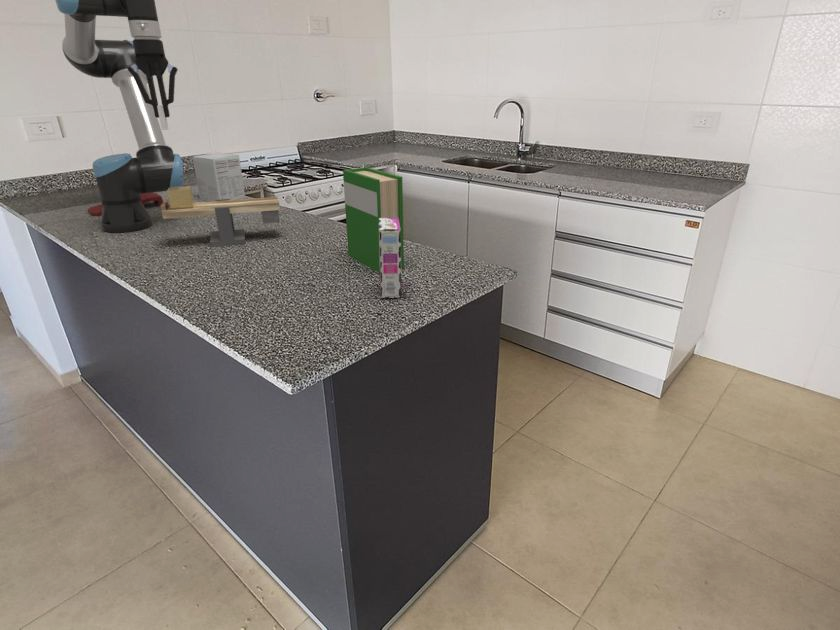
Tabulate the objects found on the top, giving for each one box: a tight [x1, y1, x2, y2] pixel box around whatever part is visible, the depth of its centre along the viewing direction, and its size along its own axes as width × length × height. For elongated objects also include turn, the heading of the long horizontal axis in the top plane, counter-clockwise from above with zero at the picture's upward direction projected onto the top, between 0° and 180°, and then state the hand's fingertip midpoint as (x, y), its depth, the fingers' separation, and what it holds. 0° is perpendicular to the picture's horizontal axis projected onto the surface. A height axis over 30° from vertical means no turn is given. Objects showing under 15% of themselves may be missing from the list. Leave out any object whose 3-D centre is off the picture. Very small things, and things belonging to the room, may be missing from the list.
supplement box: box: [191, 152, 246, 202], centre depth 213 cm, size 13×13×18 cm
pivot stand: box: [209, 199, 246, 248], centre depth 160 cm, size 12×10×12 cm
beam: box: [160, 196, 281, 225], centre depth 159 cm, size 10×33×8 cm, turn 108°
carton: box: [87, 192, 164, 217], centre depth 201 cm, size 12×5×25 cm
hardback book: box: [342, 167, 405, 274], centre depth 138 cm, size 18×7×24 cm, turn 34°
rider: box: [166, 185, 195, 210], centre depth 154 cm, size 5×6×6 cm
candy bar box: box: [379, 218, 402, 299], centre depth 121 cm, size 11×5×16 cm, turn 5°
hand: (165, 129), depth 153 cm, fingers closed
